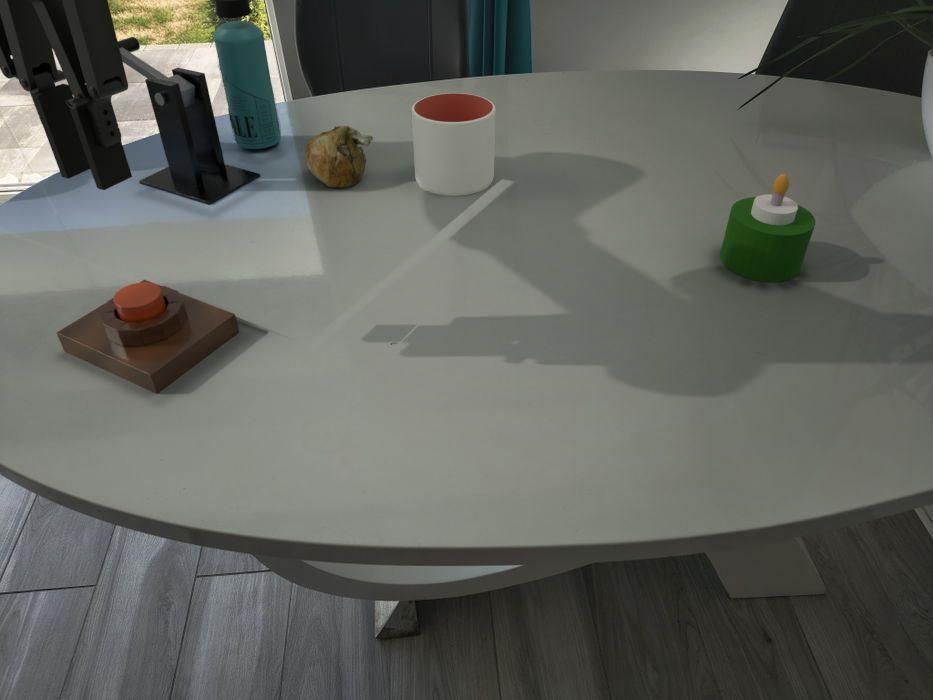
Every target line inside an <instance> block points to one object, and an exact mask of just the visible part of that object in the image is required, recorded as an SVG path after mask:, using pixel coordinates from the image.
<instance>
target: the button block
mask: <svg viewBox="0 0 933 700" xmlns="http://www.w3.org/2000/svg"><path fill="white" fill-rule="evenodd" d="M140 282H149V283H154V284H156V285H158V286H159V287H160V288H161V291H162V294H163V298H164V301H165V304H166V308H165V311H164V312H163V313H161V314H159V315H158V316H156V317H155V318H152V319H149V320H146V321H142V322H124V321H123V320H121V319H120V317H119V315H118V312H117V309H116V307H115V304H114V301H113V298H114V297H112V298H110V299H109V300H107V301H106V302H104V303H103V304H101V305H100V306H98V307H96V308H95V309H93V310H91V311H90V312H88V313H86V314H85V315H83V316H81V317H80V318H78V319H76V320H75V321H73V322H72V323H70V324H68V325H67V326H65V327H64V328H61V329H60V330H59V331H57V332H56V335H57V338H58V340H59V342H60V344H61V346H62V349H63V351H64V352H65V353H67V354H69V355H71V356H73V357H76V358H78V359H80V360H82V361H85V362H87V363H89V364H91V365H93V366H95V367H97V368H99V369H102V370H104V371H105V372H108V373H110V374H112V375H114V376H116V377H119V378H121V379H123V380H125V381H128V382H130V383H132V384H134V385H136V386H138V387H141V388H142V389H145V390H147V391H149V392H151V393H153V394H155V395H158V394H160V393H161V392H162V391H164V390H165V389H166V388H167V387H169V386H170V385H171V384H174V382H176V381H177V380H179V378H181V377H182V376H184V375H185V374H186V373H187V372H189V371H190V370H191V369H193V368H194V367H196V366H197V365H198V364H200V363H201V362H203V360H206V358H207V357H209V356H211V354H213V353H214V352H216V351H217V350H218V349H220V348H221V347H222V346H224V345H225V344H226V343H228V342H229V341H230V340H232V339H233V338H234V337H236V336H237V335H238V334H239V333H240V329H239V325H238V321H237V316H236V314H235V313H234V312H231V311H228V310H226V309H223V308H221V307H218V306H215V305H214V304H213V305H212V304H210V303H207V302H204V301H202V300H199V299H197V298H195V297H191V296H189V295H186V294H184V293H181V292H180V291H178V290H177V289H173V288H171V287H168V286H166V285H160V284H157V283H155V282H152V281H149V280H147V279H143V280H141V281H139V282H138V283H140Z"/></svg>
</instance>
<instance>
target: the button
mask: <svg viewBox="0 0 933 700" xmlns="http://www.w3.org/2000/svg"><path fill="white" fill-rule="evenodd" d="M139 282H140V283H139ZM139 282H135V283H132V284H128V285H126V286H124V287H122V288H120V289H119V290H118V291H116V292H115V294H114V295H113V297H112V298H113V301H114V304H115V307H116V309H117V312H118V315H119V317H120V319H121V320H123V321H124V322H142V321H146V320H149V319H152V318H155V317H156V316H158V315H159V314H161V313H163V312H164V311H165V308H166V304H165V301H164V298H163V294H162V291H161V288H160V287H159V286H158V285H159V284H157V283H155V282H152V283H149V282H150V281H149V282H141V281H139ZM154 283H155V284H154ZM156 284H157V285H156Z"/></svg>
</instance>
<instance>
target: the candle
mask: <svg viewBox="0 0 933 700" xmlns="http://www.w3.org/2000/svg"><path fill="white" fill-rule="evenodd" d="M789 188H790V179H789V177H788V175H787V174H785V173H781V174H780V175H778V176H777V178H776V179H775V180H774V182H773V185H772V194H770V193H769V194H761V195H758V196H751V197H745V198H742V199H740V200H737V201H736V202H735V203H733V204H732V205H731V208H730V212H729V216H728V220H727V223H726V228H725V231H724V236H723V240H722V244H721V247H720V252H719V259H720V261H721V264H723V266H724V267H725V268H726V269H728V270H729V271H731V272H732V273H734V274H736V275H737V276H740V277H743V278H745V279H748V280H752V281H757V282H763V283H764V282H766V283H779V282H785V281H789V280H791V279H793V278H795V277H796V276H798V274H799V273H800V271H801V269H802V265H803V262H804V259H805V256H806V254H807V251H808V247H809V244H810V241H811V238H812V236H813V232H814V230H815V226H816V218H815V216H814V215H813V213H811V211H810V210H808V209H807V208H805V207H803V206H802V205H800V204H797V203H796V202H795V201H794V200H793V199H791V198H789V197H786V196H785V195H786V193H787V192H788V190H789Z"/></svg>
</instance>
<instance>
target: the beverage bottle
mask: <svg viewBox="0 0 933 700" xmlns="http://www.w3.org/2000/svg"><path fill="white" fill-rule="evenodd" d="M214 2H215V12H216V16H217V17H219V18H223V19H238V18H239V19H240V18H244V17H248V16H249V15H251V14H252V9H251V6H250V2H249V0H214ZM264 36H265V34H264V31H263V30H262V29H261V28H260V27H258V26H257V25H256V24H255V23H253V22H252V21H247V20H234V21H227V22H224V23H221V24H219V26H218V27H217V28H216V30H215V32H214V33H213V35H212V38H213V39H212V40H213V42H214V46H215V50H216V56H217V59H216V60H217V61H218V71H219V73H220V74H219V75H220V76H221V77H220V79H221V84H222V85H223V89H224V94H225V101H226V102H225V103H226V105H227V107H228V108H227V112H228V117H229V123H230V126H231V131H232V133H233V134H232V136H233V138H234V141H235V142H236V144H237V145H238V146H239V148H243V149H247V150H260V149H266V148H270V147H273V146H276V145H277V144H278V143H280V141H281V138H282V137H281V135H282V133H283V132H281V130H282V128H281V122H280V117H279V115H278V107H277V105H278V104H277V103H276V98H275V92H274V87H273V84H272V79H271V74H270V68H269V67H270V66H269V62H268V56H267V50H266V43H265V37H264Z"/></svg>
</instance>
